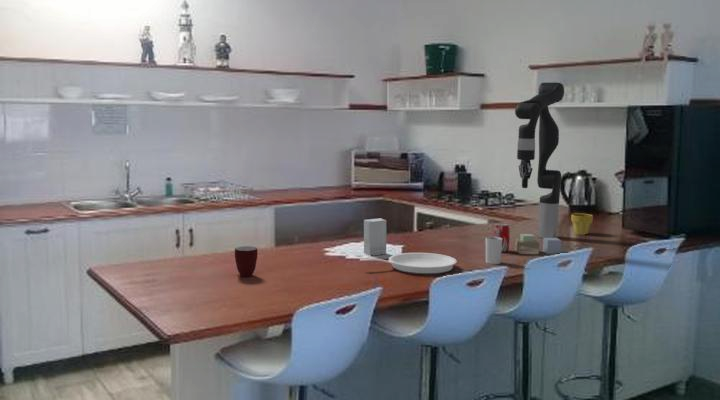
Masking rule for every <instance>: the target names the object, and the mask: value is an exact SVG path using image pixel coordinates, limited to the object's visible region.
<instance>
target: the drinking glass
mask: <svg viewBox="0 0 720 400" xmlns="http://www.w3.org/2000/svg"><path fill="white" fill-rule="evenodd" d="M501 249H502V238H500V237H493V236H486V237H485V263H486V264H488V263H489V265H499V264H501V259H502V258H501V257H502V252H501Z"/></svg>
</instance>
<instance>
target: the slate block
mask: <svg viewBox="0 0 720 400" xmlns="http://www.w3.org/2000/svg"><path fill="white" fill-rule="evenodd" d="M542 252H544V253H545V254H547V255H557V254H556V253H562V240H561V239H559V238H558V237H557V238H542Z"/></svg>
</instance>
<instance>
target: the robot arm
mask: <svg viewBox="0 0 720 400" xmlns="http://www.w3.org/2000/svg"><path fill="white" fill-rule="evenodd" d="M537 92H538V94H537V95H534V96H533V97H531V98H530V99H528V100H524V101H521V102H519V103H517V105H516V106H515V109H514V115H515V117H517V118H518V119H519V120H529V122H528V123H525V124H521V125H520V126H519V127H518V141H517V150H516V151H517V152H516V153H517V154H516V155H517V157H516V158H517V160H519V161H520V163H519V165H518V170H519V176H520V179H521V188H522V189H527V188H528V187H529V186H528V185H529V184H528V183H529V180H530V178H531V175H532V173H533V167H532V164H531V161H533V160H535V157H536V127H537V124H538V121H539V124H538V126H539V129H538V164H537V166H538V168H537V178H536V179H537V187H538V188H539V189H546V190H547V189H548V190H551V192H550V193H548V194H545V195H541V196H540V197H539V208H538V209H539V211H538V228H537V229H538V230H537V237H538V238H541V239H543V238H558V231H559V230H558V229H559V215H560V214H559V209H560V198H561V197H560V195H561V184H562V173H561V171H560V170H557V169H556V170H555V169H547V164H548V161H549V160H550V158H551V156H552V155H553V153H554V152H555V150H556V149H557V148H558V145H559V143H560V140H559V139H560V129H559V126H558V125H557V123H556V121H555V120H554V118H553V116H552V115H551V112H550V110H549V109H550V108H549V106H551V105H554V104H556V103H559V102H561V101H562V100H563V98H564V96H565V86H564V84H562V83H561V82H554V81H553V82H541V83H540V84H539V86H538V91H537Z"/></svg>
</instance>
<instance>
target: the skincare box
mask: <svg viewBox="0 0 720 400" xmlns="http://www.w3.org/2000/svg"><path fill="white" fill-rule="evenodd" d="M365 253H366V254H365ZM363 254H365V255H367V254H368V255H367V256H369V255H373V256H378V255H379V256H380V255H381V254H382V255H387V220H386V219H383V218H381V217H380V218H370V219H363Z"/></svg>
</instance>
